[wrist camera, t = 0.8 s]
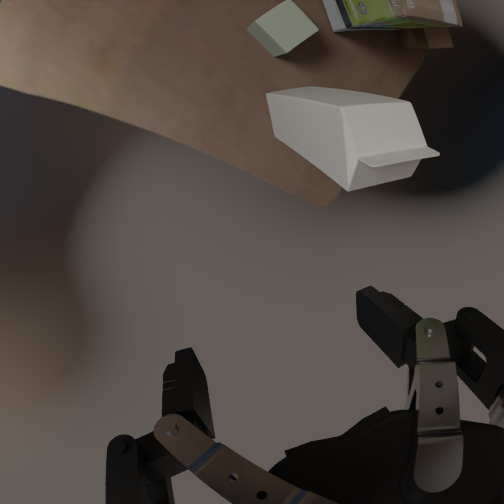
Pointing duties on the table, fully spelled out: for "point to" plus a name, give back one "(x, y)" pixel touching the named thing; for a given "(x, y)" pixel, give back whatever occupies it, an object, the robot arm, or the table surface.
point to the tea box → (391, 14)
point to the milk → (350, 133)
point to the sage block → (282, 28)
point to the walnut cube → (425, 37)
